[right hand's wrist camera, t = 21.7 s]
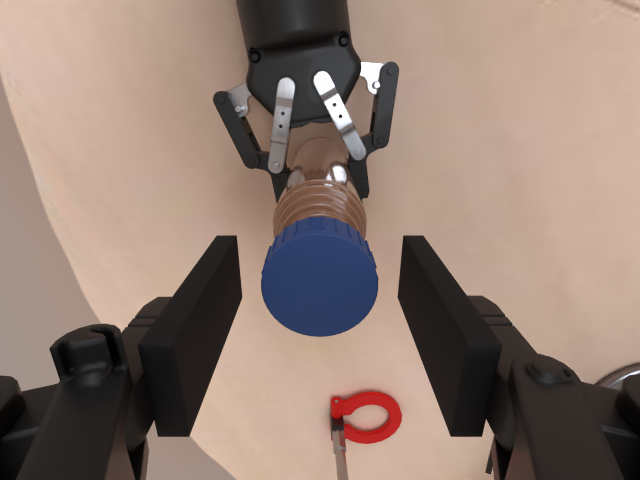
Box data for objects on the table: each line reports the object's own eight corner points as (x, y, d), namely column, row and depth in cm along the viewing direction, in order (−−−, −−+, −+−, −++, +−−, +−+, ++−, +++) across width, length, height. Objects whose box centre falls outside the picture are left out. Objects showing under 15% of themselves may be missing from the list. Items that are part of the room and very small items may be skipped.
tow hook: (401, 387, 47) (329, 390, 46) (436, 488, 35) (339, 494, 35) (397, 434, 50) (330, 438, 50) (427, 542, 38) (339, 548, 38)
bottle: (306, 129, 35) (280, 194, 12) (352, 149, 36) (407, 244, 13) (288, 176, 37) (237, 308, 14) (333, 194, 37) (352, 347, 15)
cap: (309, 192, 13) (307, 207, 12) (394, 257, 14) (404, 279, 13) (246, 273, 15) (235, 297, 13) (328, 327, 16) (329, 356, 14)
